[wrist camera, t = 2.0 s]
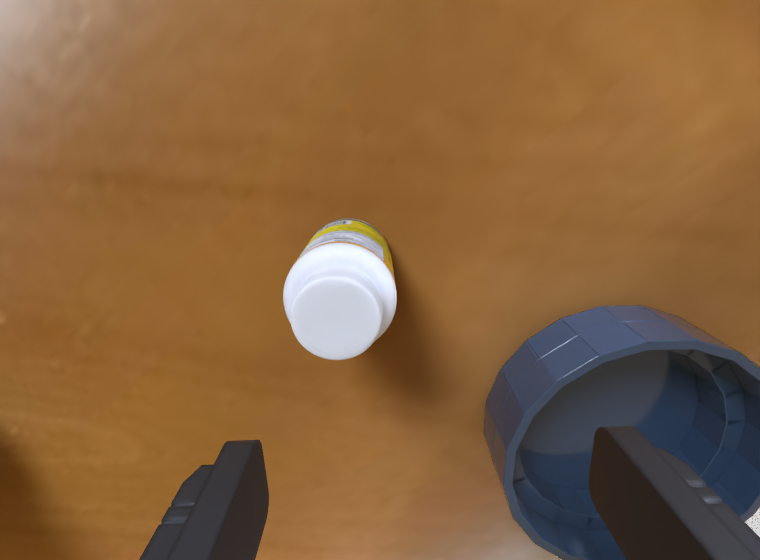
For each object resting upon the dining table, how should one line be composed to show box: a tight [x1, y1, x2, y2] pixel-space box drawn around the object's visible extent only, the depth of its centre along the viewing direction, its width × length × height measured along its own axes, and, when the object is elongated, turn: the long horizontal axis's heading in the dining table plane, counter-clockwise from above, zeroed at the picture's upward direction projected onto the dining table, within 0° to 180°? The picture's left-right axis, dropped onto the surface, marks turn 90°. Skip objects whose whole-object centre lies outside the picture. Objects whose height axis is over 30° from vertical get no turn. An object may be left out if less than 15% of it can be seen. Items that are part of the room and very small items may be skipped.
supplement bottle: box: [283, 219, 397, 360], centre depth 23 cm, size 6×6×10 cm
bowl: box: [484, 306, 760, 560], centre depth 29 cm, size 17×17×6 cm
